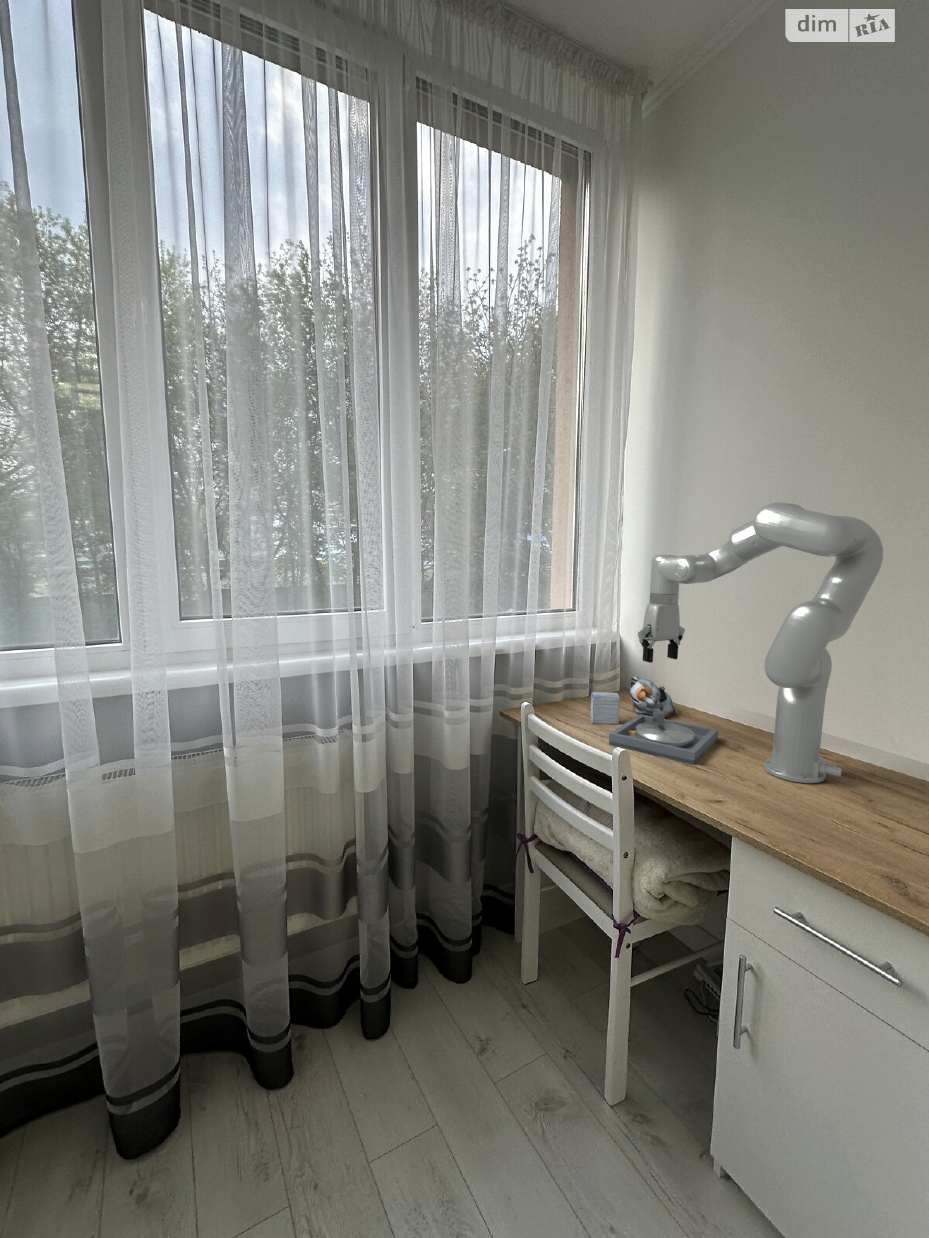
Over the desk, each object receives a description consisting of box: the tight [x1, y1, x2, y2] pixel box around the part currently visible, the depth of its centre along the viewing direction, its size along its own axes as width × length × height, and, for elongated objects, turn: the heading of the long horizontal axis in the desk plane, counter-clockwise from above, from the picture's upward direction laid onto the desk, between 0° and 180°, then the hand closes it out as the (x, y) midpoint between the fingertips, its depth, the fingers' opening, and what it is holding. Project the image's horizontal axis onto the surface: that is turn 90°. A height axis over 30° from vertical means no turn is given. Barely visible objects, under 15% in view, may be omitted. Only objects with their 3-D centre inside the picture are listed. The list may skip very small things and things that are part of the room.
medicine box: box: [590, 691, 621, 725], centre depth 169 cm, size 8×4×9 cm, turn 84°
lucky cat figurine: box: [629, 675, 678, 719], centre depth 177 cm, size 15×12×14 cm
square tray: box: [608, 713, 719, 766], centre depth 153 cm, size 22×22×3 cm
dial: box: [635, 709, 694, 748], centre depth 152 cm, size 15×15×6 cm
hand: (660, 660), depth 159 cm, fingers open, 9 cm apart
